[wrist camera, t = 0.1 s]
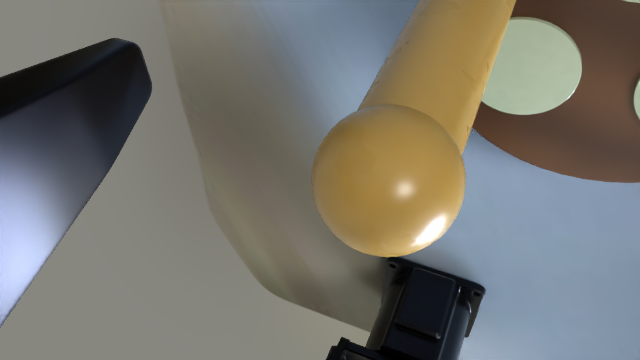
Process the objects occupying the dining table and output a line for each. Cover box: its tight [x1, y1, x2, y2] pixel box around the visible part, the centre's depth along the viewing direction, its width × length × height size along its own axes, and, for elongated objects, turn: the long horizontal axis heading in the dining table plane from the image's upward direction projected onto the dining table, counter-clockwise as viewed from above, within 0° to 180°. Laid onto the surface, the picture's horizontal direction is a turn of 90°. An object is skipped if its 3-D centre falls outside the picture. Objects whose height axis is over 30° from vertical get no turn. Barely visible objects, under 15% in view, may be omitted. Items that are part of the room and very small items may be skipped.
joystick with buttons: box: [312, 0, 640, 257], centre depth 14 cm, size 13×13×13 cm
